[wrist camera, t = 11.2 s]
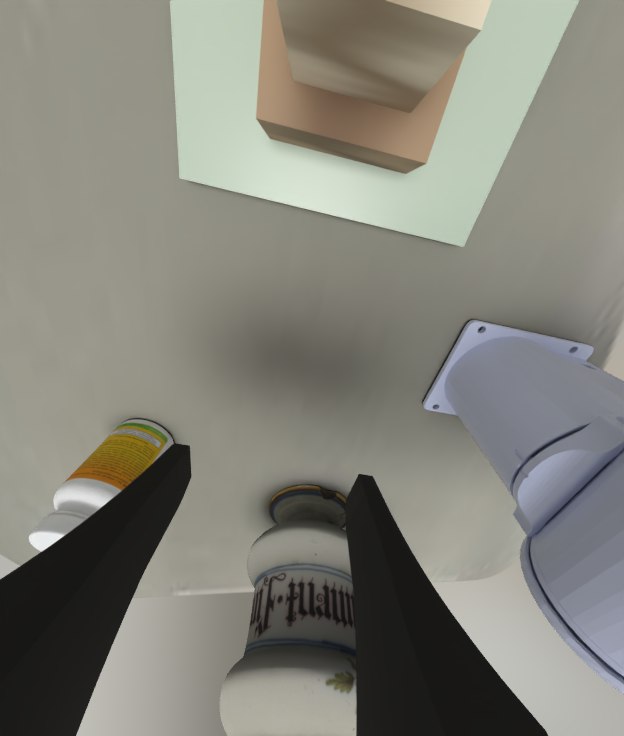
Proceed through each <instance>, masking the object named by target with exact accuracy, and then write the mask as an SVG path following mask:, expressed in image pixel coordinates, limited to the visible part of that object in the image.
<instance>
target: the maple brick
mask: <svg viewBox="0 0 624 736" xmlns="http://www.w3.org/2000/svg"><path fill="white" fill-rule="evenodd" d="M491 1H492V0H276V2H277V7H278V11H279V16H280V21H281V25H282V30H283V35H284V39H285V44H286V49H287V53H288V58H289V63H290V67H291V72H292V76H293V81H296V82H299V83H303V84H306V85H310V86H314V87H317V88H321V89H324V90H328V91H332V92H335V93H339V94H342V95H346V96H350V97H353V98H357V99H360V100H364V101H367V102H371V103H375V104H378V105H382V106H385V107H389V108H393V109H396V110H400V111H403V112H407V113H411V112H412V111H413V110H414V108H415V107H416V106H417V105H418V104H419V103H420V101H421V100H422V99H423V98H424V97H425V96H426V94H427V93H428V92H429V91H430V90H431V89H432V87H433V86H434V85H435V84H436V83H437V82H438V80H439V79H440V78H441V77H442V76H443V74H444V73H445V72H446V71H447V70H448V69H449V67H450V66H451V65H452V64H453V63H454V62H455V60H456V59H457V58H458V57H459V56H460V55H461V53H462V52H463V51H464V50H465V49H466V47H467V46H468V45H469V44H470V43H471V42H472V40H473V39H474V38H475V37H476V36H477V35H478V33H479V32H480V31H481V29H482V27H483V24H484V21H485V18H486V15H487V13H488V10H489V7H490V4H491Z"/></svg>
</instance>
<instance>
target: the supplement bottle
mask: <svg viewBox="0 0 624 736" xmlns="http://www.w3.org/2000/svg"><path fill="white" fill-rule="evenodd" d="M172 444H174V442H173V439H172V437H171V436H170V435H169V433H168V432H167V431H166V430H165V429H163V428H162V427H160V426H159V425H157V424H155V423H153V422H150V421H147V420H140V419H134V420H128V421H126V422H124V423H122V424H121V425H120V426H119V427H118V428H116V429H115V430H114V432H113V433H112V434H111V435H110V436H109V437H108V438H107V439H106V440H105V441H104V442H103V443H102V444H101V445H100V446H99V447H98V448H97V449H96V450H95V451H94V452H93V453H92V454H91V455H90V456H89V457H88V459H87V460H86V461H85V462H84V463H83V464H82V465H81V466H80V467H79V468H78V469H77V470H76V471H75V472H74V473H73V474H72V475H71V476H70V477H69V478H68V479H67V480H66V481H65V482H64V483H63V484H62V486H61V487H60V488H59V489H58V490H57V492H56V493H55V496H54V501H53V502H54V507H55V509H56V511H54V512H52V513H50V514H49V515H48V516H47V517H46V518H44V519H43V521H42V522H41V523H40V524H39V525H38V526H37V527H36V528H35V530H34V531H33V532H32V533H31V534H30V536H29V541H30V543H31V544H32V545H33V546H34V547H35V548H37V549H38V550H40V551H43V550H45V549H46V548H48V547H49V546H51V545H52V544H53V543H55V542H56V541H58V540H59V539H60V538H62V537H63V536H64V535H66V534H67V533H69V532H70V531H71V530H73V529H74V528H75V527H77V526H78V525H79V524H81V523H82V522H83V521H85V520H86V519H87V518H89V517H90V516H91V515H92V514H94V513H95V512H96V511H97V510H99V509H100V508H101V507H102V506H104V505H105V504H106V503H107V502H108V501H110V500H111V499H112V498H113V497H115V496H116V495H117V494H118V493H119V492H121V491H122V490H123V489H124V488H125V487H126V486H128V485H129V484H130V483H131V482H132V481H133V480H134V479H136V478H137V477H138V476H139V475H140V474H141V473H142V472H144V471H145V470H146V469H147V468H148V467H149V466H150V465H151V464H152V463H153V462H154V461H156V460H157V459H158V458H159V457H160V456H161V455H162V454H163V453H164V452H165V451H166V450H167V449H168V448H169V447H170V446H171V445H172Z"/></svg>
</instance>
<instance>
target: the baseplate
mask: <svg viewBox="0 0 624 736" xmlns="http://www.w3.org/2000/svg"><path fill="white" fill-rule="evenodd" d="M578 2H579V0H492V1H491V4H490V7H489V10H488V13H487V15H486V18H485V21H484V24H483V27H482V29H481V31H480V32H479V33H478V35H477V36H476V37H475V38H474V39H473V40H472V42H471V43H470V44H469V45H468V46H467V48H466V51H465V54H464V57H463V60H462V63H461V65H460V68H459V71H458V74H457V77H456V80H455V83H454V86H453V89H452V91H451V94H450V97H449V100H448V103H447V106H446V109H445V112H444V115H443V117H442V120H441V123H440V126H439V129H438V132H437V135H436V138H435V141H434V143H433V146H432V149H431V152H430V155H429V158H428V161H427V164H425V165H423V166H421V167H419V168H417V169H415V170H413V171H411V172H409V173H407V174H404V173H400V172H396V171H392V170H388V169H385V168H381V167H377V166H373V165H369V164H365V163H361V162H358V161H354V160H350V159H346V158H342V157H338V156H335V155H331V154H327V153H323V152H319V151H315V150H311V149H308V148H304V147H300V146H296V145H292V144H288V143H284V142H281V141H277V140H273V139H270V138H269V137H268V135H267V134H266V132H265V131H264V129H263V128H262V126H261V125H260V124H259V122H258V121H257V119H256V110H257V95H258V80H259V64H260V49H261V34H262V19H263V4H264V0H170V9H171V27H172V46H173V65H174V83H175V102H176V120H177V139H178V158H179V176H180V179H184V180H188V181H192V182H196V183H200V184H204V185H209V186H213V187H217V188H221V189H225V190H229V191H233V192H237V193H242V194H246V195H250V196H254V197H258V198H262V199H266V200H271V201H275V202H279V203H283V204H287V205H291V206H295V207H300V208H304V209H308V210H312V211H316V212H320V213H324V214H328V215H333V216H337V217H341V218H345V219H349V220H353V221H357V222H362V223H366V224H370V225H374V226H378V227H382V228H386V229H391V230H395V231H399V232H403V233H407V234H411V235H415V236H419V237H424V238H428V239H432V240H436V241H440V242H444V243H448V244H453V245H457V246H461V247H464V245H465V243H466V240H467V238H468V236H469V234H470V232H471V230H472V228H473V226H474V223H475V221H476V219H477V217H478V215H479V213H480V211H481V209H482V206H483V204H484V202H485V200H486V198H487V196H488V194H489V191H490V189H491V187H492V185H493V183H494V181H495V179H496V177H497V174H498V172H499V170H500V168H501V166H502V164H503V162H504V159H505V157H506V155H507V153H508V151H509V149H510V147H511V145H512V142H513V140H514V138H515V136H516V134H517V132H518V130H519V127H520V125H521V123H522V121H523V119H524V117H525V115H526V113H527V110H528V108H529V106H530V104H531V102H532V100H533V98H534V95H535V93H536V91H537V89H538V87H539V85H540V83H541V81H542V78H543V76H544V74H545V72H546V70H547V68H548V66H549V64H550V61H551V59H552V57H553V55H554V53H555V51H556V49H557V46H558V44H559V42H560V40H561V38H562V36H563V34H564V32H565V29H566V27H567V25H568V23H569V21H570V19H571V17H572V14H573V12H574V10H575V8H576V6H577V4H578Z"/></svg>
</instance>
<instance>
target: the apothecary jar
mask: <svg viewBox="0 0 624 736" xmlns="http://www.w3.org/2000/svg"><path fill="white" fill-rule="evenodd" d="M269 512H270V515H271V517H272V519H273V520H274V521H275V522H276V523H277V524H278V525H276V526H274V527H272V528H270V529H269V530H267V531H266V532H265V533H263V534H262V535H261V536H260V537H259V538H258V539H257V540H256V541H255V542H254V544H253V545H252V547H251V549H250V552H249V555H248V560H247V570H248V575H249V578H250V580H251V583H252V585H253V586H254V588H255V593H254V600H253V607H252V614H251V621H250V627H249V634H248V639H247V644H246V649H245V653H244V656H243V658H242V659H241V660H240V661H238V662H237V663H236V664H235V665H234V666H233V667H232V669H231V670H230V671H229V673H228V674H227V676H226V678H225V681H224V683H223V687H222V690H221V695H220V715H221V720H222V723H223V727H224V729H225V731H226V733H227V735H228V736H356V718H357V701H356V637H355V610H354V595H353V585H352V576H351V567H350V559H349V550H348V541H347V532H346V531H345V530H343V529H342V528H343V527H344V526H345V525H346V498H345V497H344V496H342V495H341V494H339V493H338V492H336V491H325V490H323V489H322V488H321V487H320V486H315V485H298V486H293V487H289V488H287V489H284V490H282V491H280V492H278V493H277V494H276V495H275V496H274V497H273V498H272V499H271V502H270V505H269Z"/></svg>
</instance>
